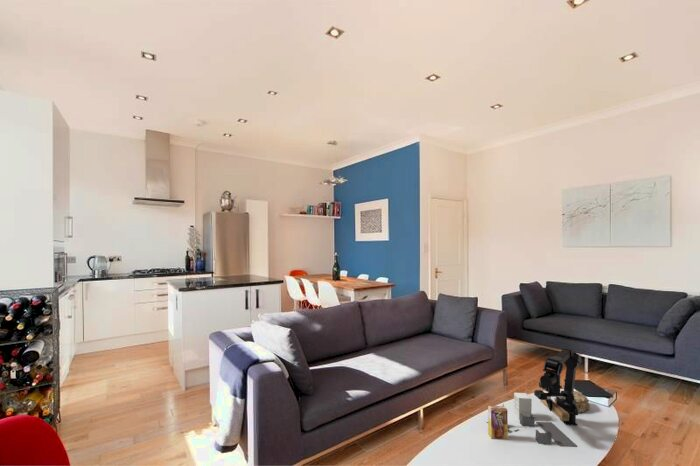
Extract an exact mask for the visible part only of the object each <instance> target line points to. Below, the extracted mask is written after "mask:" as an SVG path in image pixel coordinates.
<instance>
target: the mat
mask: <svg viewBox="0 0 700 466" xmlns="http://www.w3.org/2000/svg"><path fill="white" fill-rule="evenodd" d="M535 423H536V424H537V426H539V428H541V429H542V430H543V431H544V433H547V430H549V431H550V432H551V433H552V441H554V442H555V443H556V444H557V445H558V446H559V447H567V448H568V447H571V448H572V447H575V448H577V447H578V445H577V444H576V443H575V442H573V440H572V439H570V438H569V437H568V436H567V435H566V434H565V433H564V432H563V431H562V430H560V428H558V427H557V425H555V424H554V423H553V422H551V421H535Z"/></svg>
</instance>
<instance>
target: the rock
mask: <svg viewBox="0 0 700 466" xmlns="http://www.w3.org/2000/svg"><path fill="white" fill-rule="evenodd" d="M573 395H574V398H575V400H576V406H577V407H578V409H579V413H578V414H580V413H584V412H586V410H590V409H591V405H590V403H589V401H590V400H589V398H588V397H587V396H585V394H583V392H581V391H577V390H574V393H573ZM553 399H554V400H553V401H554V402H555V403H556V404H557V400H556V397H553Z"/></svg>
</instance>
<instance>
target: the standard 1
mask: <svg viewBox="0 0 700 466" xmlns="http://www.w3.org/2000/svg"><path fill="white" fill-rule="evenodd" d="M535 422H536V421H535V416H534V415H533V414H530V417H525V416H523V415H522V414H520V419H519V424H520V425H521V426H522V427H530V428H531V427H532V428H533V427H534V428H535Z"/></svg>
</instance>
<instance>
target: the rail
mask: <svg viewBox="0 0 700 466" xmlns="http://www.w3.org/2000/svg"><path fill="white" fill-rule="evenodd" d="M551 400H552V401H553V403H552V411H551V412H552V413H553V414H554V415H555V416H556V417H558V419H559V420H560V419H561V420H562V421H569V413H567V412H566V411H565V410H564V409H563V408H561V407H560V406H559V405H558V404H556V403H555V400H553V399H552V398H551ZM540 403H542V404H543V405H544V406H545V407H546V408H547V409H549V407H548V405H547V402H546V400H540ZM561 420H560V421H561ZM562 421H561V422H562Z"/></svg>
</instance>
